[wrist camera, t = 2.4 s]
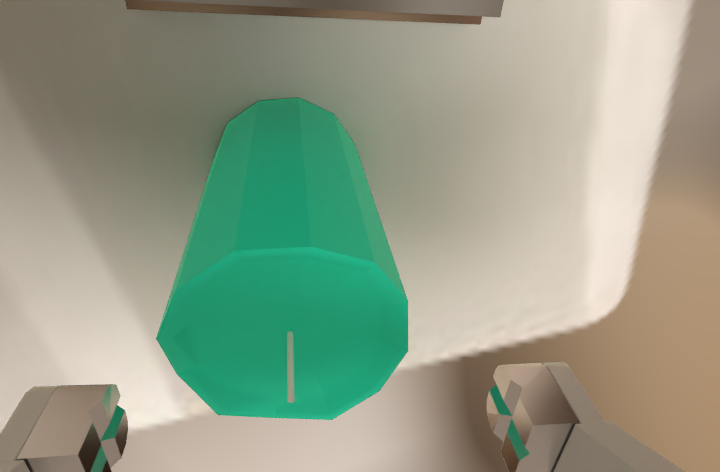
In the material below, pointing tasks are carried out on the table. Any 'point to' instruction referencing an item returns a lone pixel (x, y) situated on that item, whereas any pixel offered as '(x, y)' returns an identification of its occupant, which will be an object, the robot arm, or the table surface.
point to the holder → (339, 8)
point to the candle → (286, 274)
